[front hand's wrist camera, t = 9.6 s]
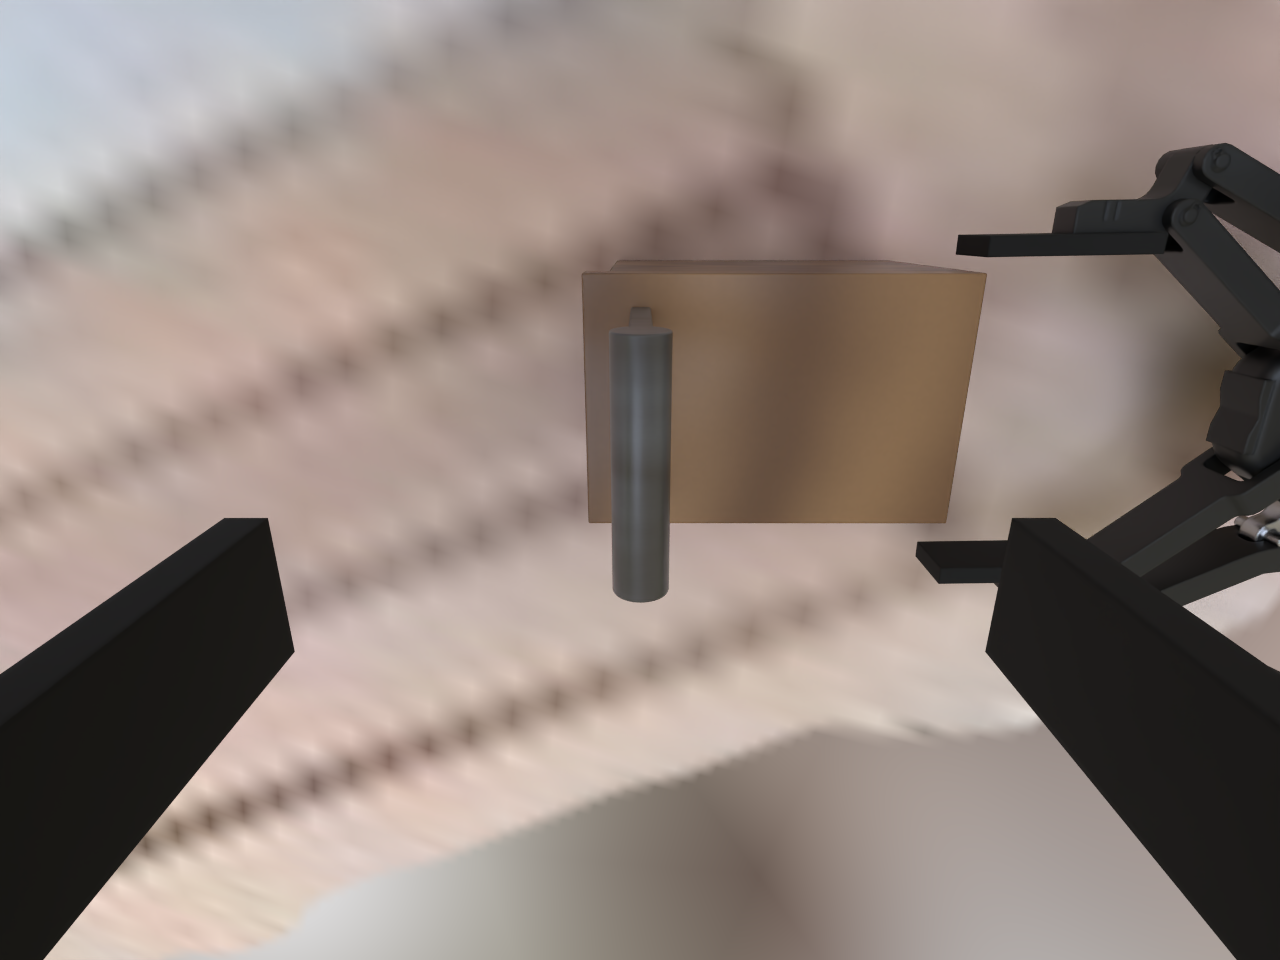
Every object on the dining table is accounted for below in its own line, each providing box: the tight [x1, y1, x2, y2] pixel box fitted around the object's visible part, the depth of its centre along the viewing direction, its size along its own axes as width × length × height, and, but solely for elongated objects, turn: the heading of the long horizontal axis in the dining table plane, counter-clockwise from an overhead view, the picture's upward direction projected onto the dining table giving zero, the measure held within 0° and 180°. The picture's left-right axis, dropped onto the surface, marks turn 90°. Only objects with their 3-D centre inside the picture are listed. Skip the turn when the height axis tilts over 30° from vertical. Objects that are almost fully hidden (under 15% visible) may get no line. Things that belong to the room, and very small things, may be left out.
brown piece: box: [582, 271, 987, 602], centre depth 22 cm, size 14×9×9 cm
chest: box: [610, 261, 964, 271], centre depth 31 cm, size 13×9×9 cm
